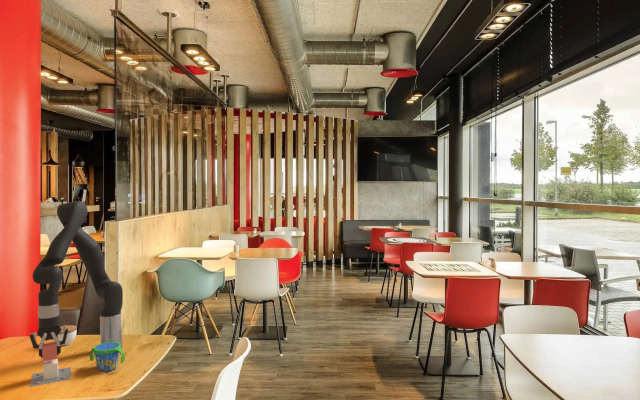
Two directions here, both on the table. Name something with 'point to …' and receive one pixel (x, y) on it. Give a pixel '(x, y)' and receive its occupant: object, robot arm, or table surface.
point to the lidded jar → (70, 336)
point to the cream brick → (50, 369)
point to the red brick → (49, 351)
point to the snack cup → (107, 355)
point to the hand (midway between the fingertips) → (50, 355)
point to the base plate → (39, 379)
